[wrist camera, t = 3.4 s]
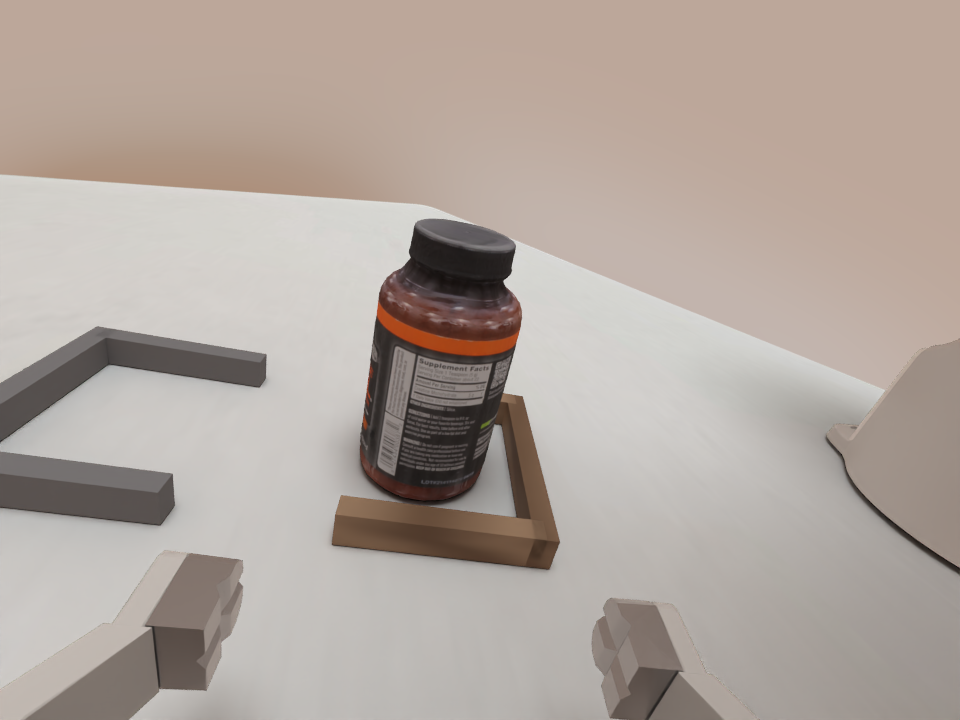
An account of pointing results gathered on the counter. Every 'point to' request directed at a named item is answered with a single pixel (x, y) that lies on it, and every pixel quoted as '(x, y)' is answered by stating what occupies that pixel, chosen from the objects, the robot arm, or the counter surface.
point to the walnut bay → (465, 513)
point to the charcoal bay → (93, 484)
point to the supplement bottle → (439, 361)
